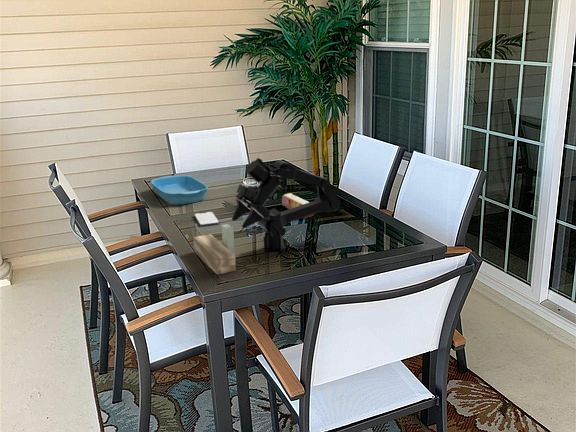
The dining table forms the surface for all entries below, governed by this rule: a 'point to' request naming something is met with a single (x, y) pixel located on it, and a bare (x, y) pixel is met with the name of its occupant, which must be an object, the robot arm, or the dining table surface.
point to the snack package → (293, 202)
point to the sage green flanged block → (228, 237)
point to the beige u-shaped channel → (214, 254)
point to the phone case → (206, 219)
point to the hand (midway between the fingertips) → (237, 223)
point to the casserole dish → (179, 189)
